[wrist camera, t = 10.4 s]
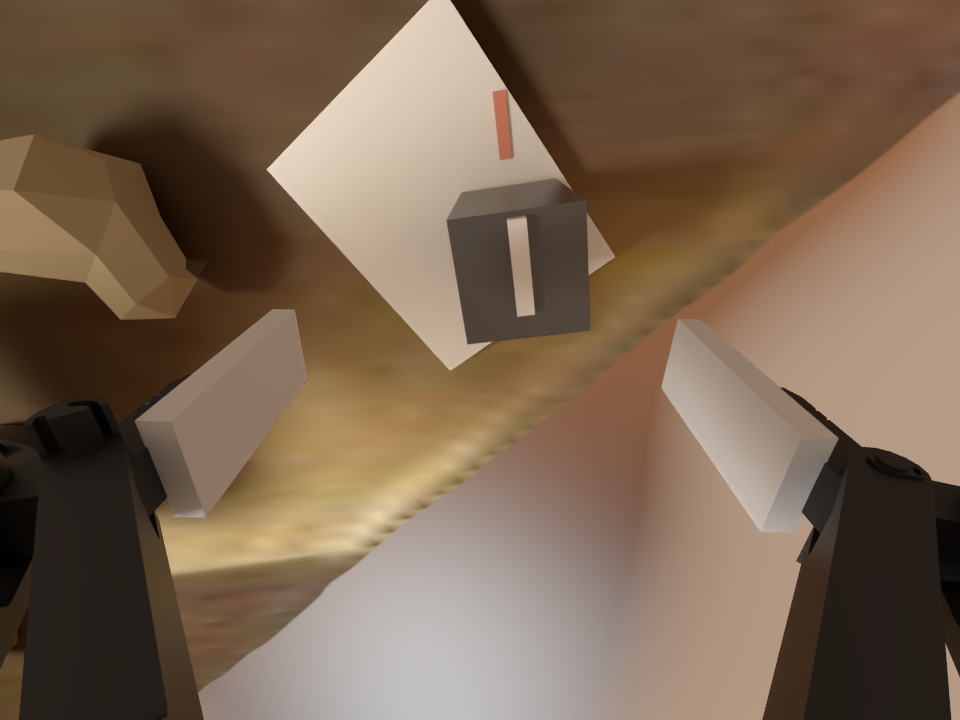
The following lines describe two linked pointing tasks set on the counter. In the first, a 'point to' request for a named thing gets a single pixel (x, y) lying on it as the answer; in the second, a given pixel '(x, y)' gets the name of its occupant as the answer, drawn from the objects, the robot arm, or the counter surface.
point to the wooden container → (14, 641)
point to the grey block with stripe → (521, 261)
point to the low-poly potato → (90, 227)
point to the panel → (416, 168)
